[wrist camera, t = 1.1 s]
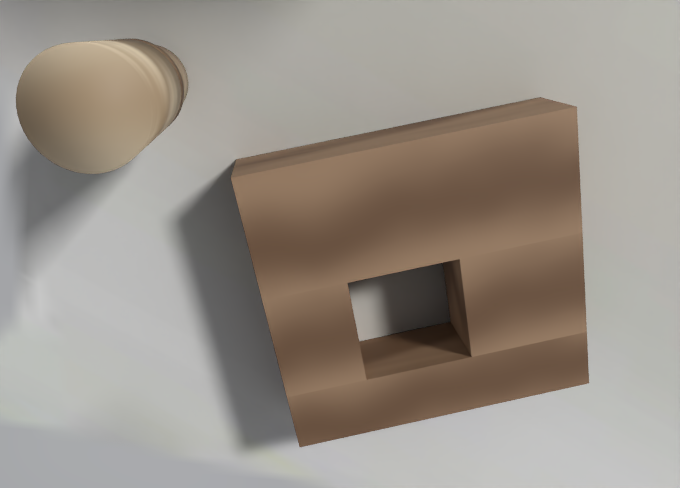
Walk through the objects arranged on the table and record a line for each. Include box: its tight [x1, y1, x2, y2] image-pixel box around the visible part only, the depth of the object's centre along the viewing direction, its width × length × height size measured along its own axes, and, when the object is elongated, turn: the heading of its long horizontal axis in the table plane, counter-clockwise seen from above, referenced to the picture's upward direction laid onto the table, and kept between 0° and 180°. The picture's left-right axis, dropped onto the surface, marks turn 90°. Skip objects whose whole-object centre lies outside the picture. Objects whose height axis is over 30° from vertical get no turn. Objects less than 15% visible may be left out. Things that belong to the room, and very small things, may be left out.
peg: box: [16, 39, 188, 174], centre depth 24 cm, size 4×4×11 cm
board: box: [231, 97, 589, 447], centre depth 32 cm, size 15×16×4 cm
